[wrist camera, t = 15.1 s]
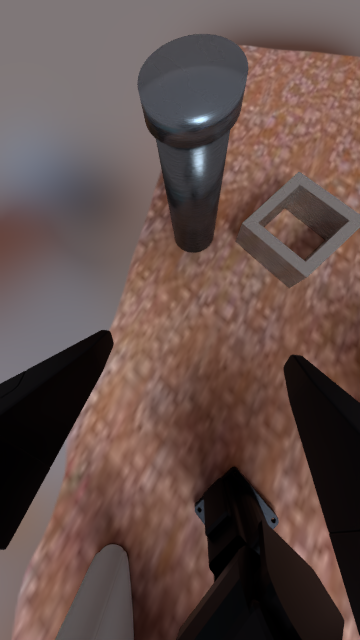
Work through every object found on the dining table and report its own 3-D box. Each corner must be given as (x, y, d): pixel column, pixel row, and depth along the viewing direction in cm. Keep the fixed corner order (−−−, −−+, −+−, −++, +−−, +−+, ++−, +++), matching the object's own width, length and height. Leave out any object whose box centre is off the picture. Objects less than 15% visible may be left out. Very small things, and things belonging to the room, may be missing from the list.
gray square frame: (341, 239, 22) (367, 219, 19) (289, 288, 22) (306, 277, 18) (284, 196, 24) (299, 171, 20) (235, 241, 24) (242, 223, 20)
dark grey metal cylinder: (227, 234, 24) (273, 66, 10) (191, 264, 24) (185, 136, 9) (196, 206, 25) (196, 19, 11) (162, 234, 25) (116, 80, 11)
